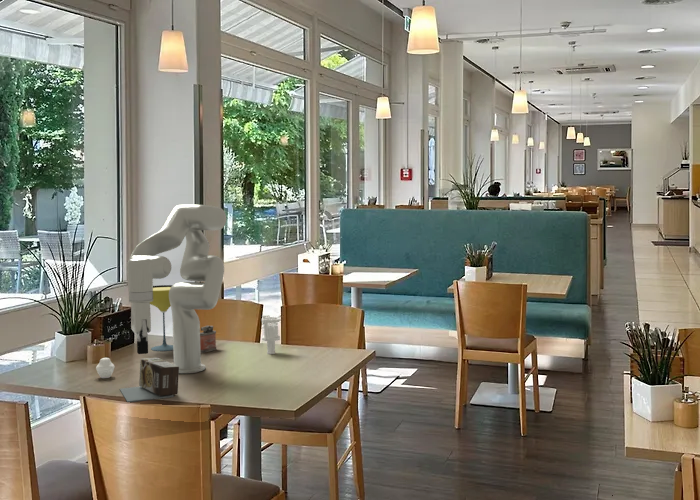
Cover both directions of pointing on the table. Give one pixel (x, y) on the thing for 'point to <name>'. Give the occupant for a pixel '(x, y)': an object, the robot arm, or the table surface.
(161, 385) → the coffee box
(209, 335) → the lighter
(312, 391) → the table surface
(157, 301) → the cocktail glass
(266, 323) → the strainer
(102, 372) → the white rounded jar
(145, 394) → the rubber mat
